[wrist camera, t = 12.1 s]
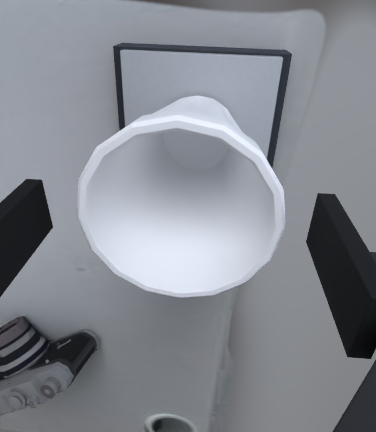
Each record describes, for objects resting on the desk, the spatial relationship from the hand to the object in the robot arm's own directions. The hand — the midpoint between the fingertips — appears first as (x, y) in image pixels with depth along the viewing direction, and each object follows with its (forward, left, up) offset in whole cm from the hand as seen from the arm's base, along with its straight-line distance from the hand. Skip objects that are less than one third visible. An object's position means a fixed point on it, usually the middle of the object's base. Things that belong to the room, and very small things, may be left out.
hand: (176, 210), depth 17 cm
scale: (+1, 0, -16) cm, 16 cm away
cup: (0, 0, -13) cm, 13 cm away
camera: (+16, -33, -16) cm, 40 cm away
